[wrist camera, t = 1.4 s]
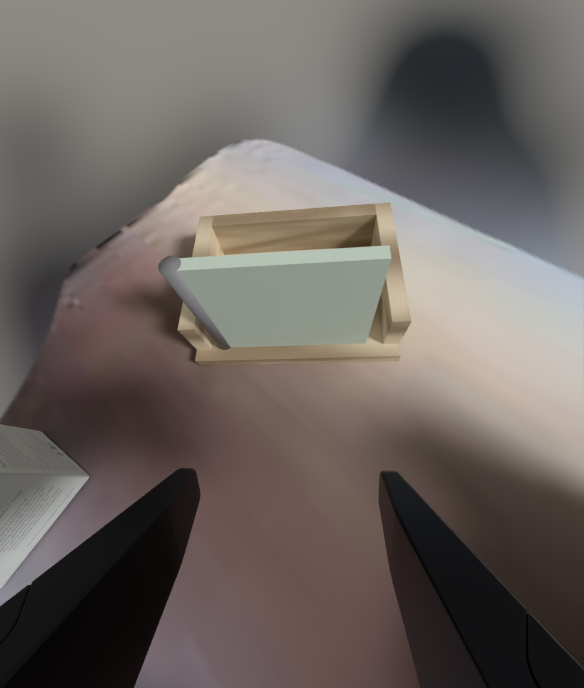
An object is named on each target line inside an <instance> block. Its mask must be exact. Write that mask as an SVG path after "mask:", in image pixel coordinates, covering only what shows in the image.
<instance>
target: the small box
mask: <svg viewBox="0 0 584 688" xmlns="http://www.w3.org/2000/svg"><path fill="white" fill-rule="evenodd" d="M88 479H89V475H88V474H87V473H86V472H85V471H84V470H83V469H82V468H81V467H79V466H78V465H77V464H76V463H75V462H74V461H73V460H72V459H71V458H70V457H69V456H67V455H66V454H65V453H64V452H63V451H62V450H61V449H60V448H59V447H58V446H57V445H55V444H54V443H53V442H52V441H51V440H50V439H49V438H48V437H47V436H46V435H45V434H44V433H42V432H41V431H37V430H32V429H25V428H19V427H13V426H7V425H1V424H0V588H2V587H3V586H4V584H5V583H6V582H7V580H8V579H9V578H10V577H11V575H12V574H13V573H14V572H15V570H16V569H17V568H18V567H19V565H20V564H21V563H22V562H23V560H24V559H25V558H26V557H27V555H28V554H29V553H30V552H31V550H32V549H33V548H34V547H35V545H36V544H37V543H38V542H39V540H40V539H41V538H42V537H43V535H44V534H45V533H46V532H47V530H48V529H49V528H50V527H51V525H52V524H53V523H54V521H55V520H56V519H57V518H58V516H59V515H60V514H61V513H62V511H63V510H64V509H65V508H66V506H67V505H68V504H69V502H70V501H71V500H72V499H73V497H74V496H75V495H76V494H77V492H78V491H79V490H80V489H81V487H82V486H83V485H84V484H85V482H86V481H87V480H88Z"/></svg>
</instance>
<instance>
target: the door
mask: <svg viewBox="0 0 584 688" xmlns="http://www.w3.org/2000/svg"><path fill="white" fill-rule="evenodd" d="M391 259H392V258H391V252H390V246H389V245H388V246H371V247H355V248H339V249H323V250H306V251H290V252H274V253H257V254H241V255H225V256H208V257H192V258H178V257H177V256H168V257H166V258H164V259H163V260H161V262H160V263H159V265H158V270H159V271H160V273H161V274H162V275H163V276H164V278H165V279H166V280H167V282H168V283H169V284H170V285H171V287H172V288H173V289H174V290H175V292H176V293H177V294H178V295H179V297H180V298H181V299H182V301H183V302H184V303H185V304H186V306H187V307H188V308H189V309H190V311H191V312H192V313H193V314H194V316H195V317H196V318H197V319H198V321H199V322H200V323H201V325H202V326H203V327H204V328H205V330H206V331H207V332H208V333H209V335H210V336H211V337H212V338H213V340H214V341H215V342H216V343H217V345H218V346H219V347H220V348H221V349H222V350H228V349H230V348H232V347H265V346H298V345H332V344H365V343H366V342H367V339H368V335H369V332H370V329H371V325H372V322H373V319H374V315H375V312H376V309H377V305H378V302H379V299H380V295H381V292H382V289H383V285H384V282H385V279H386V275H387V272H388V269H389V265H390V262H391Z"/></svg>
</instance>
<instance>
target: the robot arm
mask: <svg viewBox="0 0 584 688" xmlns="http://www.w3.org/2000/svg"><path fill="white" fill-rule="evenodd" d="M199 501H200V488H199V484H198V479H197V474H196V471H195V470H194V469H192V468H180V469H178V470H176V471H175V472H174V473H172V474H171V475H170V476H168V477H167V478H166V479H165V480H163V481H162V482H161V483H159V484H158V485H157V486H156V487H154V488H153V489H152V490H150V491H149V492H148V493H146V494H145V495H144V496H143V497H141V498H140V499H139V500H137V501H136V502H135V503H134V504H132V505H131V506H130V507H128V508H127V509H126V510H125V511H123V512H122V513H121V514H119V515H118V516H117V517H115V518H114V519H113V520H112V521H110V522H109V523H108V524H106V525H105V526H104V527H103V528H101V529H100V530H99V531H97V532H96V533H95V534H93V535H92V536H91V537H90V538H88V539H87V540H86V541H84V542H83V543H82V544H81V545H79V546H78V547H77V548H75V549H74V550H73V551H71V552H70V553H69V554H68V555H66V556H65V557H64V558H62V559H61V560H60V561H59V562H57V563H56V564H55V565H53V566H52V567H51V568H50V569H48V570H47V571H46V572H44V573H43V574H42V575H40V576H39V577H38V578H37V579H35V580H34V581H33V582H32V584H31V585H27V586H26V587H25V588H23V589H22V590H21V591H20V592H18V593H17V594H16V595H14V596H13V597H12V598H11V599H9V600H8V601H7V602H5V603H4V604H3V605H1V606H0V688H134V686H135V683H136V681H137V678H138V676H139V673H140V670H141V668H142V665H143V663H144V660H145V657H146V655H147V652H148V650H149V647H150V645H151V642H152V639H153V637H154V634H155V632H156V629H157V626H158V624H159V621H160V619H161V616H162V613H163V611H164V608H165V606H166V603H167V600H168V598H169V595H170V593H171V590H172V587H173V585H174V582H175V580H176V577H177V575H178V572H179V569H180V566H181V564H182V560H183V557H184V554H185V551H186V547H187V543H188V540H189V536H190V533H191V529H192V526H193V522H194V519H195V515H196V512H197V508H198V505H199ZM379 506H380V512H381V519H382V525H383V531H384V537H385V544H386V550H387V556H388V562H389V567H390V572H391V577H392V581H393V585H394V589H395V593H396V596H397V600H398V604H399V608H400V611H401V615H402V619H403V623H404V626H405V630H406V634H407V638H408V641H409V645H410V649H411V653H412V656H413V660H414V664H415V668H416V671H417V675H418V679H419V683H420V687H421V688H584V668H583V667H582V666H581V665H580V664H579V663H578V662H577V661H576V660H575V659H574V658H573V657H572V656H571V655H570V654H569V653H568V652H567V651H566V650H565V649H564V648H563V647H562V646H561V645H560V644H559V642H558V641H557V640H556V639H555V638H554V637H553V636H552V635H551V634H550V633H549V632H548V631H547V630H546V629H545V628H544V627H543V626H542V625H541V624H540V622H539V621H538V620H537V619H536V618H535V617H534V616H533V615H532V614H531V613H527V609H526V608H525V607H524V606H523V605H522V604H521V602H520V601H519V600H518V599H517V598H516V597H515V596H514V595H513V594H512V593H511V592H510V591H509V590H508V589H507V588H506V587H505V585H504V584H503V583H502V582H501V581H500V580H499V579H498V578H497V577H496V576H495V575H494V574H493V573H492V572H491V571H490V569H489V568H488V567H487V566H486V565H485V564H484V563H483V562H482V561H481V560H480V559H479V558H478V557H477V556H476V555H475V554H474V552H473V551H472V550H471V549H470V548H469V547H468V546H467V545H466V544H465V543H464V542H463V541H462V540H461V539H460V538H459V537H458V535H457V534H456V533H455V532H454V531H453V530H452V529H451V528H450V527H449V526H448V525H447V524H446V523H445V522H444V521H443V519H442V518H441V517H440V516H439V515H438V514H437V513H436V512H435V511H434V510H433V509H432V508H431V507H430V506H429V505H428V504H427V502H426V501H425V500H424V499H423V498H422V497H421V496H420V495H419V494H418V493H417V492H416V491H415V490H414V489H413V488H412V486H411V485H410V484H409V483H408V482H407V481H406V480H405V479H404V478H403V477H402V476H401V475H400V474H399V473H398V472H397V471H382V472H381V473H380V479H379Z"/></svg>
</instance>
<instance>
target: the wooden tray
mask: <svg viewBox="0 0 584 688" xmlns="http://www.w3.org/2000/svg"><path fill="white" fill-rule="evenodd" d="M388 245H389V246H390V252H391V258H392V259H391V262H390V265H389V269H388V272H387V275H386V279H385V282H384V285H383V289H382V292H381V295H380V299H379V302H378V305H377V309H376V312H375V315H374V319H373V322H372V325H371V329H370V332H369V335H368V339H367V342H366V343H365V344H332V345H298V346H265V347H232V348H230V349H228V350H222V349H221V348H220V347H219V346H218V345H217V343H216V342H215V341H214V340H213V338H212V337H211V336H210V335H209V333H208V332H207V331H206V330H205V328H204V327H203V326H202V325H201V323H200V322H199V321H198V319H197V318H196V317H195V316H194V314H193V313H192V312H191V311H190V309H189V308H188V307H187V306H186V304H185V303H184V302H183V305H182V310H181V315H180V320H179V325H178V331H179V332H180V333H181V334H182V335H183V336H184V337H185V338H186V339H187V340H188V341H189V342H190V343H191V344H192V345H193V346H194V347H195V348H196V349H197V352H196V358H195V362H196V363H198V364H199V365H200V366H204V365H245V364H287V363H329V362H370V361H398V360H399V358H400V357H401V352H400V346H399V343H400V341H401V340H402V338H403V336H404V334H405V332H406V330H407V328H408V327H409V325H410V323H411V317H410V311H409V305H408V300H407V294H406V289H405V283H404V277H403V272H402V266H401V261H400V255H399V249H398V244H397V238H396V233H395V227H394V221H393V216H392V210H391V205H390V203H379V204H366V205H352V206H339V207H325V208H312V209H299V210H285V211H272V212H259V213H245V214H232V215H219V216H205V217H200V219H199V224H198V229H197V234H196V239H195V244H194V249H193V254H192V257H208V256H225V255H241V254H257V253H274V252H290V251H306V250H323V249H339V248H355V247H371V246H388Z"/></svg>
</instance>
